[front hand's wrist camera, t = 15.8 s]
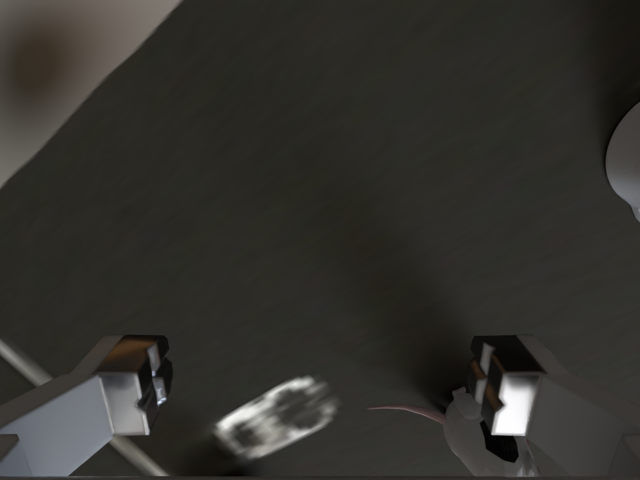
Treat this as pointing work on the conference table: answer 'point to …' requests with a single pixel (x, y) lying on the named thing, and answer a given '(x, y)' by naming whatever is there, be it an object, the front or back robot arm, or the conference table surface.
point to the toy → (478, 439)
